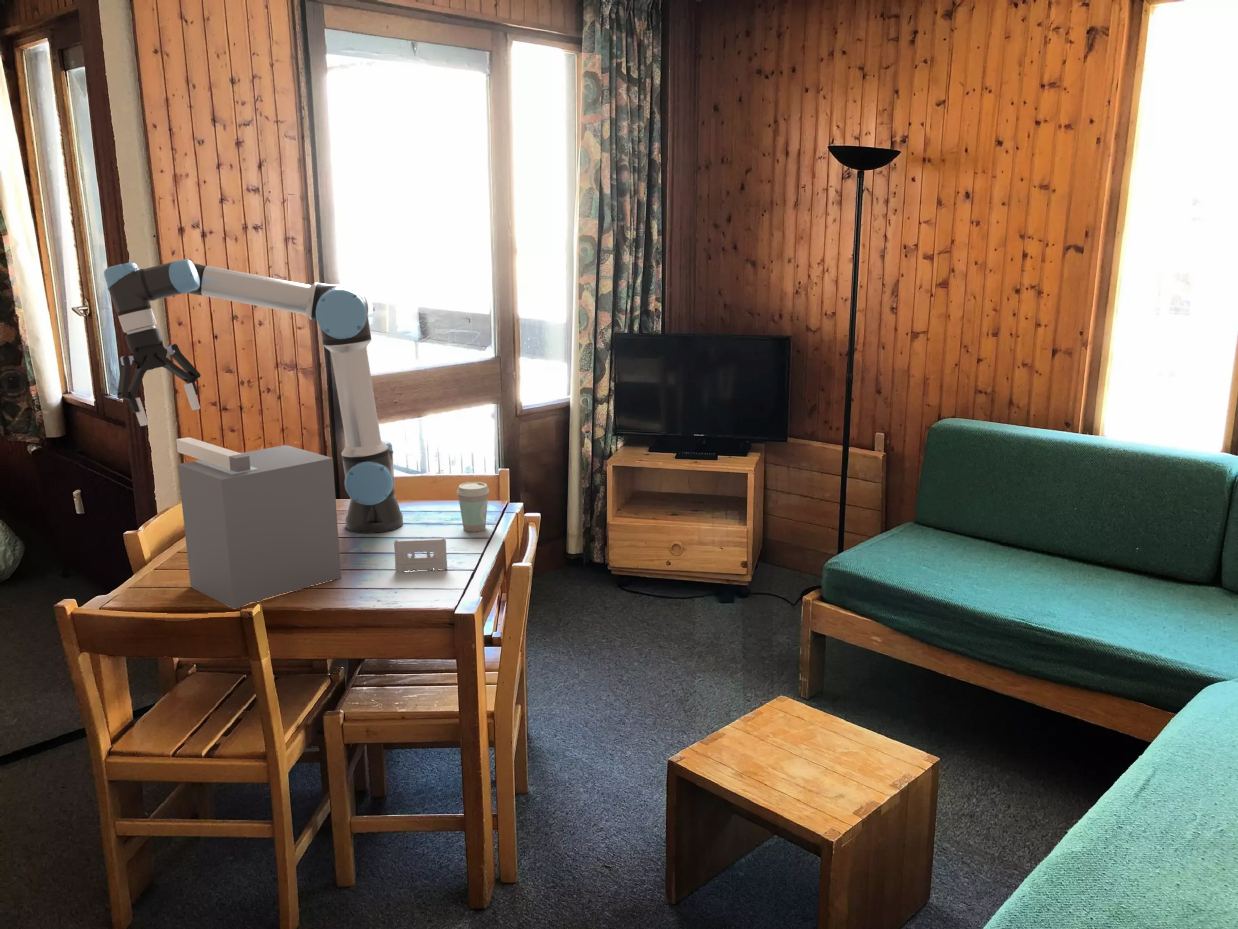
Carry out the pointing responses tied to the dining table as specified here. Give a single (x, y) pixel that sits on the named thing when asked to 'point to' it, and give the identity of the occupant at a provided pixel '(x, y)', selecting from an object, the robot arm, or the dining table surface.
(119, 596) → the dining table surface
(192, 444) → the bar
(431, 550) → the cassette
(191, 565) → the grey box
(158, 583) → the dining table surface
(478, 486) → the coffee cup
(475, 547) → the dining table surface
